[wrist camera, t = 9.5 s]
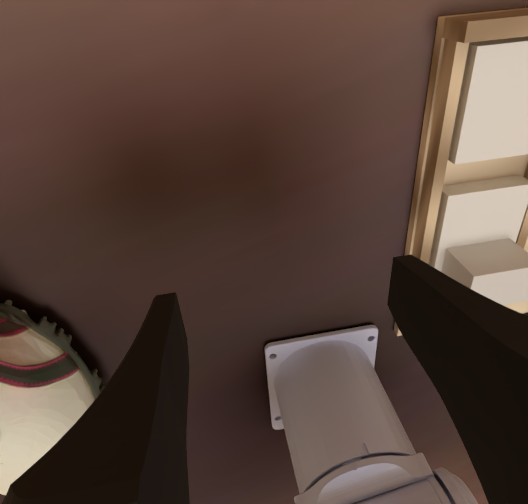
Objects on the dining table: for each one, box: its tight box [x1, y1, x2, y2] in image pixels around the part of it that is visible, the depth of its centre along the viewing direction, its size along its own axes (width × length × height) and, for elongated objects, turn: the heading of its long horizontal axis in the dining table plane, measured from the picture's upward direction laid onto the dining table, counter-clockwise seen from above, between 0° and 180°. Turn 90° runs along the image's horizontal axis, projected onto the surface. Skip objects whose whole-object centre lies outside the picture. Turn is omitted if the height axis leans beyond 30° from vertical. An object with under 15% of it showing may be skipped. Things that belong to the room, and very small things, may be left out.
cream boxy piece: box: [429, 36, 528, 305], centre depth 22 cm, size 13×5×4 cm, turn 4°
